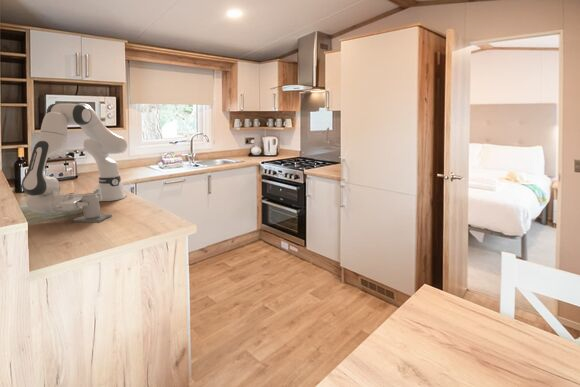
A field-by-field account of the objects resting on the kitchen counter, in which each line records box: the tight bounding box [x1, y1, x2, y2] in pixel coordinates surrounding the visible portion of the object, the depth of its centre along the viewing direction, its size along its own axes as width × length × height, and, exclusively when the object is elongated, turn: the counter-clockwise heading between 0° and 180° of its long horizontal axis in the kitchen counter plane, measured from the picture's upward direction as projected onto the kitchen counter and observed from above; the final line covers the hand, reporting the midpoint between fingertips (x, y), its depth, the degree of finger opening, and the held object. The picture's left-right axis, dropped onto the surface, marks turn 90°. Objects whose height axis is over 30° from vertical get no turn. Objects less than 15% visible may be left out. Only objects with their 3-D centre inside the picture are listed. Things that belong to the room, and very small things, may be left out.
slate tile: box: [72, 214, 113, 223], centre depth 179 cm, size 14×10×1 cm
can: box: [81, 192, 101, 219], centre depth 178 cm, size 8×8×12 cm
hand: (92, 201), depth 177 cm, fingers closed on can, 7 cm apart
